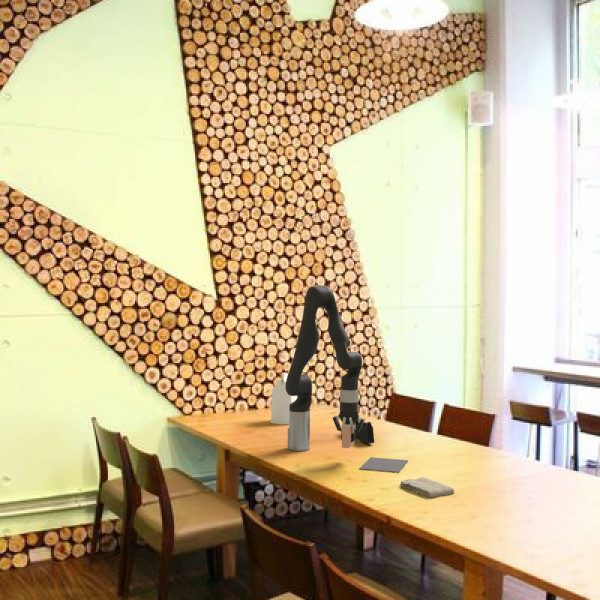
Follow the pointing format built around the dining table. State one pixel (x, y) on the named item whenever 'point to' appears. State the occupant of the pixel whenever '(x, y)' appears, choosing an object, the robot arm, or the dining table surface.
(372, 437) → the magazine
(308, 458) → the dining table surface
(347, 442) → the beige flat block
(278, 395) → the milk
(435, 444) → the dining table surface
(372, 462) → the mat
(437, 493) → the washcloth
